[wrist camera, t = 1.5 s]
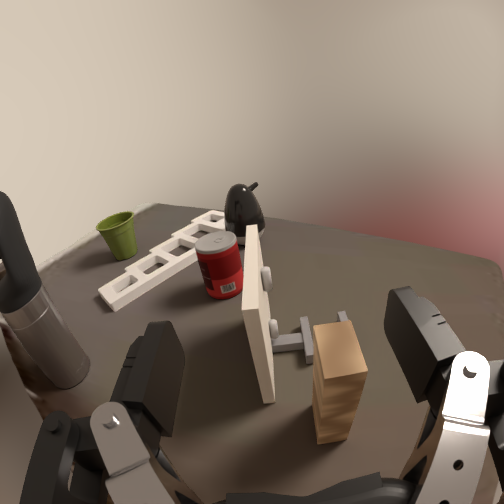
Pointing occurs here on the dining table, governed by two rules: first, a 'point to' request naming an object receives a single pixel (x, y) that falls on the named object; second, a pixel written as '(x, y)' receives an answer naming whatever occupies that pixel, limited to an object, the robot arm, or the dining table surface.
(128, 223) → the plant pot
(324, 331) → the tall wooden block
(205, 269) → the canned food
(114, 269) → the dining table surface
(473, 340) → the dining table surface
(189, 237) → the holder
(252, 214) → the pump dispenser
